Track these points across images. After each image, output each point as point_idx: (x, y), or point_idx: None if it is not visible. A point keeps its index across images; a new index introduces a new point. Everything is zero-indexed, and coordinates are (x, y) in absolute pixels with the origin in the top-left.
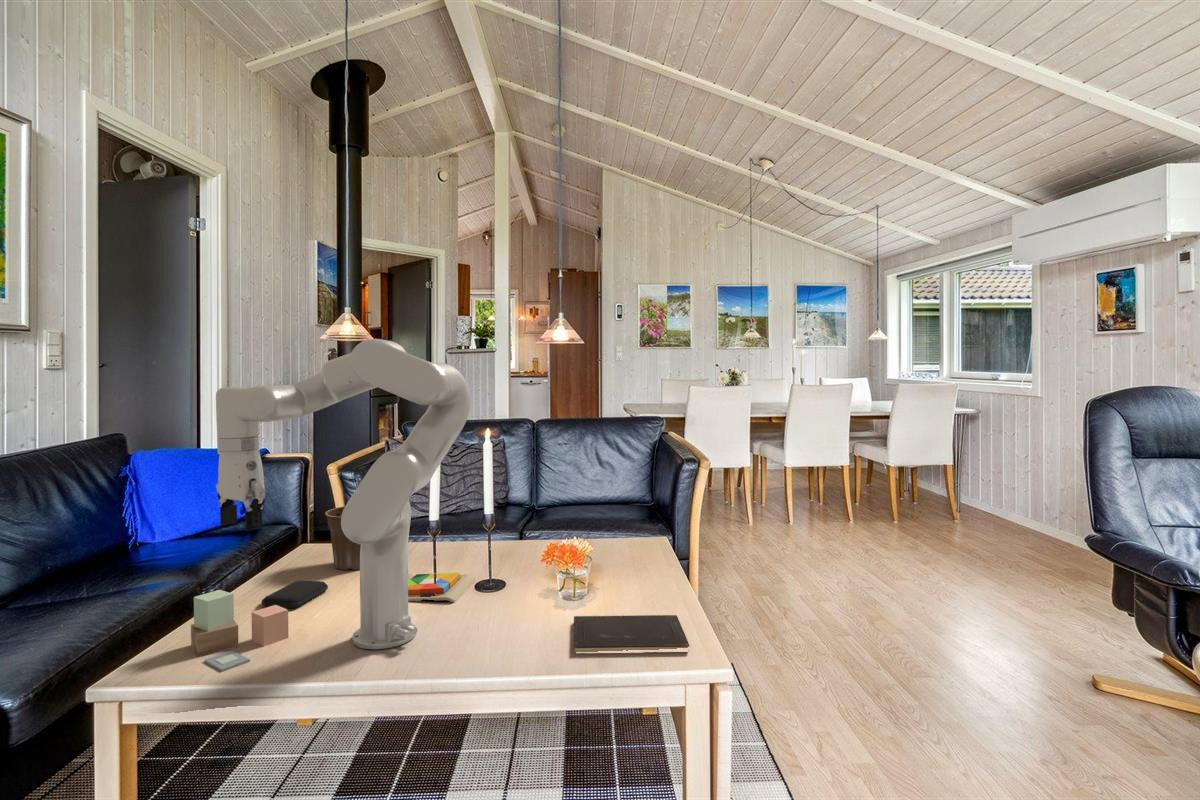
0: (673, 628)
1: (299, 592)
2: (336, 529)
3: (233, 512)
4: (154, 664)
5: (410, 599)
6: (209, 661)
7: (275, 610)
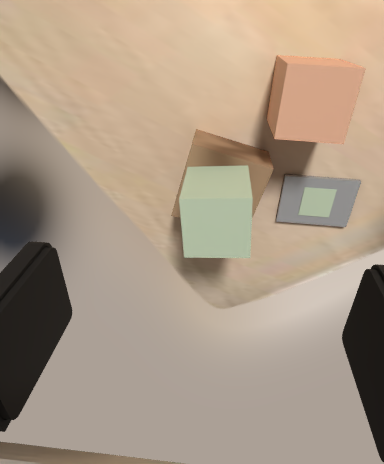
0: None
1: None
2: None
3: (19, 319)
4: (208, 258)
5: None
6: (293, 221)
7: (330, 94)
